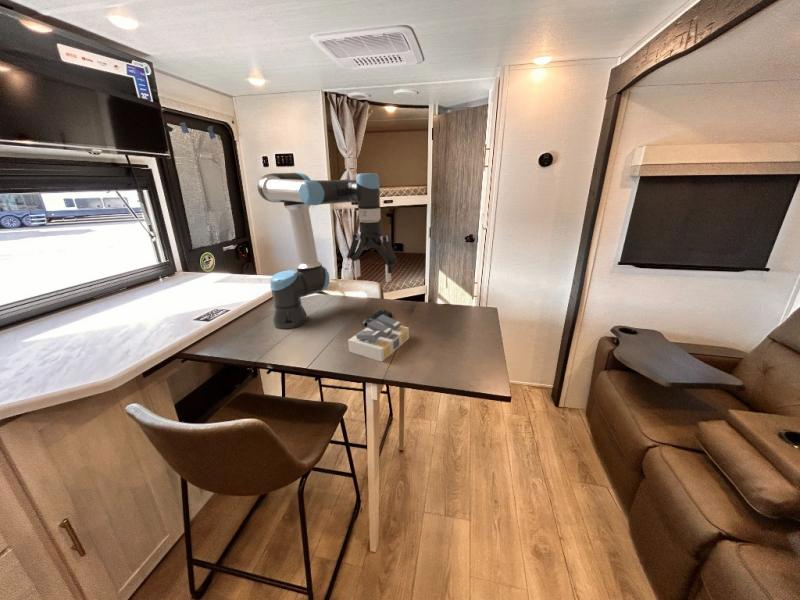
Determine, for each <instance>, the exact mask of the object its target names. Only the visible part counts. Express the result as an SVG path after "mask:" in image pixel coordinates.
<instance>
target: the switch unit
mask: <svg viewBox="0 0 800 600" xmlns="http://www.w3.org/2000/svg"><path fill="white" fill-rule="evenodd" d="M376 322H377V321H376ZM378 323H379V322H378ZM380 324H381V323H380ZM382 325H383V324H382ZM384 326H385V325H384ZM389 328H390V327H389ZM391 329H392V328H391ZM409 329H410V328H409V327H408V326H404V325H400V327H399V328H397V329H396V330H394V329H392V333H391V334H389V335H388V336H387V337H385V336H383V335H382V336H380V337H379V338H378V339H376V340H372V339H357V337H356V335H357V334H358V333H360V332H361V331H373V330H371V329H369V328H367V327H366V328H364V329H362V330H361V331H359V332H358V333H356V334H355V335H353V336H352V337H351V338H349V339H348V340H347V341H348V352H350V353H352V354H356V355H358V356H363V357H366V358H368V359H372V360H374V361H378V362H381V363H383V362H384V361H385V360H386V359H387V358H388V357H390V356H391V354H393V353H394V352H395V351H396V350H398V348H400V346H401V347H402V345H403V344H404V343H405V342H407V340H409V339H410V335H409V334H410V333H409V332H410V330H409Z"/></svg>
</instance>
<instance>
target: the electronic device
mask: <svg viewBox="0 0 800 600" xmlns="http://www.w3.org/2000/svg"><path fill="white" fill-rule="evenodd" d="M382 314H383V315H385V316H387V317H389V318H392V319H393V317H394V314H395V313H394V312H392V311H388V310H386V309H378V310H377V312H376V313H374V314H372V315H370V316H368V317H366V318H364V319H363V320H362V325H363V326H364V329H366V328H367V324H368V323H370V322H371V321H373V320H374V321H377V318H378V317H379V316H381V315H382Z"/></svg>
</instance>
